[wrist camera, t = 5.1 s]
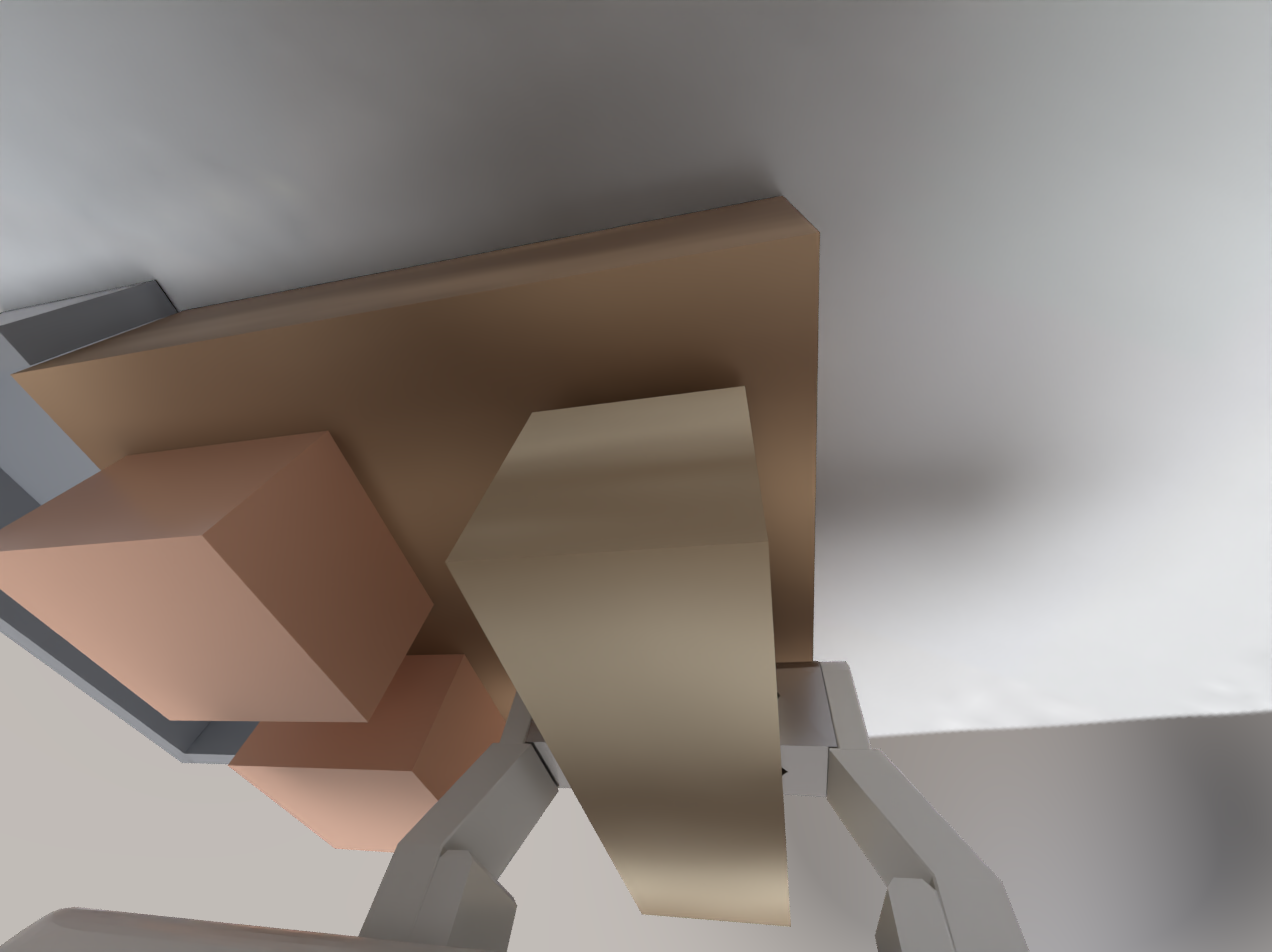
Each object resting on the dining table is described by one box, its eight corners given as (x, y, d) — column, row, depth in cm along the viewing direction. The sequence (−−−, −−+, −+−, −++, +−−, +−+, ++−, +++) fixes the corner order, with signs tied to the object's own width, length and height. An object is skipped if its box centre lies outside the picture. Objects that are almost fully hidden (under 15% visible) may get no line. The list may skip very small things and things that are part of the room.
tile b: (307, 657, 15) (227, 765, 12) (464, 654, 14) (411, 771, 11) (386, 746, 17) (335, 848, 15) (521, 748, 16) (490, 859, 14)
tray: (-131, 339, 15) (-330, 392, 12) (154, 280, 13) (-6, 327, 10) (242, 687, 24) (181, 762, 22) (438, 686, 22) (399, 769, 19)
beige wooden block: (532, 412, 8) (445, 562, 6) (744, 386, 8) (768, 541, 5) (653, 764, 15) (642, 914, 12) (773, 767, 14) (790, 927, 12)
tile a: (126, 455, 11) (-44, 554, 8) (328, 430, 10) (202, 534, 7) (266, 611, 13) (169, 720, 11) (434, 604, 12) (368, 722, 10)
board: (183, 310, 13) (9, 374, 10) (782, 195, 10) (820, 232, 7) (434, 676, 22) (387, 773, 19) (792, 672, 19) (810, 787, 16)
